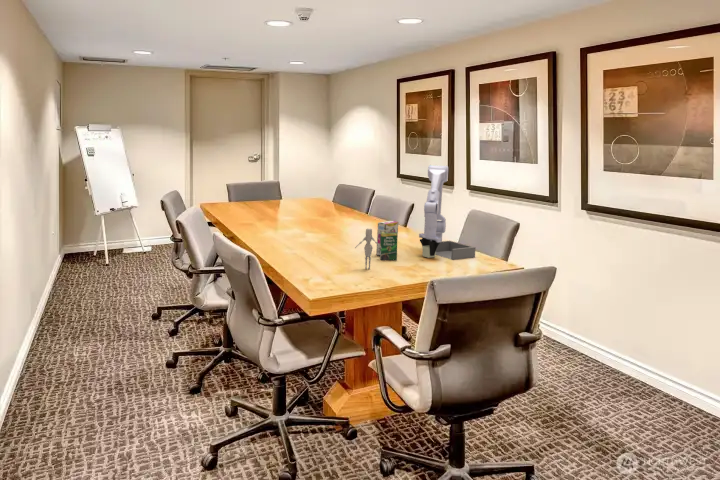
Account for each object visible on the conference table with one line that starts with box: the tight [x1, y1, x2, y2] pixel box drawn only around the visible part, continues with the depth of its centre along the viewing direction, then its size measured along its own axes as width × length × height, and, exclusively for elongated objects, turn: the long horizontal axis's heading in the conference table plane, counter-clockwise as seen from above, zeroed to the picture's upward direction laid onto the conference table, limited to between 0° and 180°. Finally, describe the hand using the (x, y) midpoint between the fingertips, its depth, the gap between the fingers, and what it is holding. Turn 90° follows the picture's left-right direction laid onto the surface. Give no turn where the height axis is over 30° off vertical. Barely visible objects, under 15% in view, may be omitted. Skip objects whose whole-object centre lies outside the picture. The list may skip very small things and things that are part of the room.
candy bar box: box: [375, 220, 399, 257], centre depth 275 cm, size 11×5×16 cm, turn 141°
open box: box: [436, 240, 476, 261], centre depth 277 cm, size 19×14×6 cm
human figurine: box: [354, 228, 381, 270], centre depth 243 cm, size 12×4×18 cm, turn 96°
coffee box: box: [379, 232, 398, 261], centre depth 263 cm, size 8×3×13 cm, turn 92°
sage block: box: [422, 245, 437, 259], centre depth 270 cm, size 4×4×5 cm
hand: (428, 254), depth 270 cm, fingers closed on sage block, 4 cm apart
